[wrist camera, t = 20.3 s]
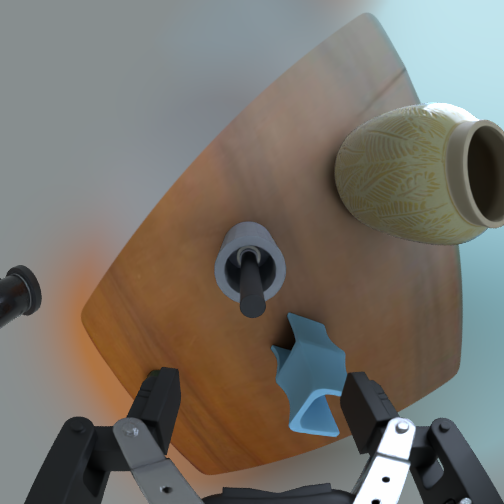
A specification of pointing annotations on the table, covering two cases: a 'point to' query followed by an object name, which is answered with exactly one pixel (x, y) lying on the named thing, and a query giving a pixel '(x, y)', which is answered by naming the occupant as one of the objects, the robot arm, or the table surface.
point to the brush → (250, 282)
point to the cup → (269, 265)
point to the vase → (424, 174)
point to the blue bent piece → (310, 376)
